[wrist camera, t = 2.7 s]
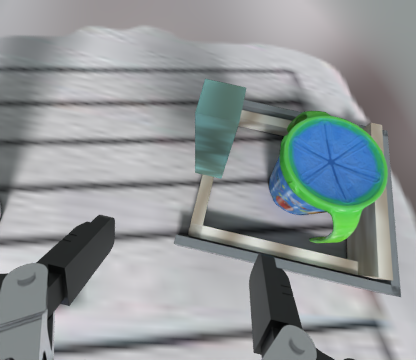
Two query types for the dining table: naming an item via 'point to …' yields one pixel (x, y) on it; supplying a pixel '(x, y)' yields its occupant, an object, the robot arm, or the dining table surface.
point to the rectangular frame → (371, 285)
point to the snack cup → (328, 171)
